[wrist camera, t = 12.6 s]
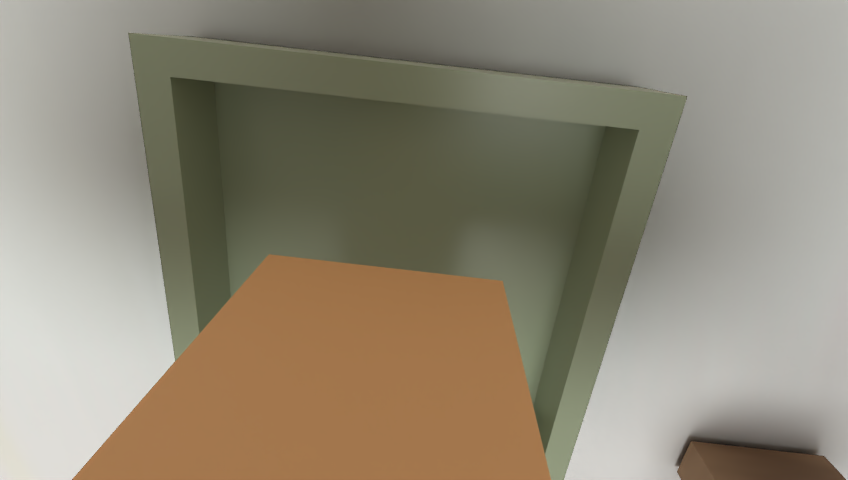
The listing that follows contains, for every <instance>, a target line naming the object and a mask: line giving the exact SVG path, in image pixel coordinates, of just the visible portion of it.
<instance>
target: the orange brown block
mask: <svg viewBox="0 0 848 480" xmlns="http://www.w3.org/2000/svg"><path fill="white" fill-rule="evenodd" d="M72 480H551V477H550V473H549V469H548V465H547V461H546V457H545V453H544V449H543V444H542V440H541V436H540V432H539V428H538V424H537V420H536V416H535V412H534V408H533V403H532V399H531V395H530V391H529V387H528V383H527V379H526V375H525V371H524V366H523V362H522V358H521V354H520V350H519V346H518V342H517V338H516V334H515V330H514V325H513V321H512V317H511V313H510V309H509V305H508V301H507V297H506V293H505V289H504V284H503V281H499V280H491V279H482V278H473V277H464V276H455V275H447V274H438V273H429V272H420V271H412V270H403V269H394V268H385V267H376V266H368V265H359V264H350V263H341V262H333V261H324V260H315V259H306V258H297V257H289V256H280V255H271V254H269V255H268V256H267V257H266V258H265V259H264V260H263V261H262V263H261V264H260V265H259V266H258V267H257V268H256V269H255V271H254V272H253V273H252V274H251V275H250V276H249V278H248V279H247V280H246V281H245V282H244V283H243V284H242V286H241V287H240V288H239V289H238V290H237V291H236V292H235V294H234V295H233V296H232V297H231V298H230V299H229V300H228V302H227V303H226V304H225V305H224V306H223V307H222V308H221V310H220V311H219V312H218V313H217V314H216V315H215V316H214V318H213V319H212V320H211V321H210V322H209V323H208V324H207V326H206V327H205V328H204V329H203V330H202V331H201V333H200V334H199V335H198V336H197V337H196V338H195V339H194V341H193V342H192V343H191V344H190V345H189V346H188V347H187V349H186V350H185V351H184V352H183V353H182V354H181V355H180V357H179V358H178V359H177V360H176V361H175V362H174V363H173V365H172V366H171V367H170V368H169V369H168V370H167V371H166V373H165V374H164V375H163V376H162V377H161V378H160V379H159V381H158V382H157V383H156V384H155V385H154V386H153V387H152V389H151V390H150V391H149V392H148V393H147V394H146V396H145V397H144V398H143V399H142V400H141V401H140V402H139V404H138V405H137V406H136V407H135V408H134V409H133V410H132V412H131V413H130V414H129V415H128V416H127V417H126V418H125V420H124V421H123V422H122V423H121V424H120V425H119V426H118V428H117V429H116V430H115V431H114V432H113V433H112V434H111V436H110V437H109V438H108V439H107V440H106V441H105V442H104V444H103V445H102V446H101V447H100V448H99V449H98V451H97V452H96V453H95V454H94V455H93V456H92V457H91V459H90V460H89V461H88V462H87V463H86V464H85V465H84V467H83V468H82V469H81V470H80V471H79V472H78V473H77V475H76V476H75V477H74V478H73V479H72Z"/></svg>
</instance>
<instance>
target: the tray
mask: <svg viewBox="0 0 848 480" xmlns="http://www.w3.org/2000/svg"><path fill="white" fill-rule="evenodd" d="M128 34H129V41H130V48H131V55H132V62H133V69H134V76H135V83H136V90H137V97H138V104H139V111H140V118H141V125H142V132H143V139H144V146H145V153H146V160H147V167H148V174H149V181H150V188H151V195H152V202H153V209H154V216H155V223H156V230H157V237H158V244H159V251H160V258H161V265H162V272H163V279H164V286H165V293H166V300H167V307H168V314H169V321H170V328H171V335H172V342H173V349H174V356H175V361H176V360H177V359H178V358H179V357H180V355H181V354H182V353H183V352H184V351H185V350H186V349H187V347H188V346H189V345H190V344H191V343H192V342H193V341H194V339H195V338H196V337H197V336H198V335H199V334H200V333H201V331H202V330H203V329H204V328H205V327H206V326H207V324H208V323H209V322H210V321H211V320H212V319H213V318H214V316H215V315H216V314H217V313H218V312H219V311H220V310H221V308H222V307H223V306H224V305H225V304H226V303H227V302H228V300H229V299H230V298H231V297H232V296H233V295H234V294H235V292H236V291H237V290H238V289H239V288H240V287H241V286H242V284H243V283H244V282H245V281H246V280H247V279H248V278H249V276H250V275H251V274H252V273H253V272H254V271H255V269H256V268H257V267H258V266H259V265H260V264H261V263H262V261H263V260H264V259H265V258H266V257H267V256H268V255H269V254H271V255H280V256H289V257H297V258H306V259H315V260H324V261H333V262H341V263H350V264H359V265H368V266H376V267H385V268H394V269H403V270H412V271H420V272H429V273H438V274H447V275H455V276H464V277H473V278H482V279H491V280H499V281H503V284H504V289H505V293H506V297H507V301H508V305H509V309H510V313H511V317H512V321H513V325H514V330H515V334H516V338H517V342H518V346H519V350H520V354H521V358H522V362H523V366H524V371H525V375H526V379H527V383H528V387H529V391H530V395H531V399H532V403H533V408H534V412H535V416H536V420H537V424H538V428H539V432H540V436H541V440H542V444H543V449H544V453H545V457H546V461H547V465H548V469H549V473H550V477H551V480H564V477H565V474H566V471H567V468H568V465H569V462H570V459H571V455H572V452H573V449H574V446H575V443H576V440H577V437H578V434H579V431H580V428H581V424H582V421H583V418H584V415H585V412H586V409H587V406H588V403H589V400H590V397H591V393H592V390H593V387H594V384H595V381H596V378H597V375H598V372H599V369H600V366H601V362H602V359H603V356H604V353H605V350H606V347H607V344H608V341H609V338H610V335H611V331H612V328H613V325H614V322H615V319H616V316H617V313H618V310H619V307H620V304H621V300H622V297H623V294H624V291H625V288H626V285H627V282H628V279H629V276H630V273H631V269H632V266H633V263H634V260H635V257H636V254H637V251H638V248H639V245H640V242H641V238H642V235H643V232H644V229H645V226H646V223H647V220H648V217H649V214H650V211H651V207H652V204H653V201H654V198H655V195H656V192H657V189H658V186H659V183H660V180H661V176H662V173H663V170H664V167H665V164H666V161H667V158H668V155H669V152H670V149H671V145H672V142H673V139H674V136H675V133H676V130H677V127H678V124H679V121H680V118H681V114H682V111H683V108H684V105H685V102H686V99H687V96H683V95H678V94H673V93H667V92H662V91H657V90H651V89H646V88H641V87H633V86H625V85H616V84H607V83H598V82H589V81H581V80H572V79H563V78H554V77H545V76H536V75H528V74H519V73H510V72H501V71H492V70H484V69H475V68H466V67H457V66H448V65H440V64H431V63H422V62H413V61H404V60H395V59H387V58H378V57H369V56H360V55H351V54H343V53H334V52H325V51H316V50H307V49H299V48H290V47H281V46H272V45H263V44H254V43H246V42H237V41H228V40H219V39H210V38H202V37H193V36H176V35H158V34H139V33H128Z"/></svg>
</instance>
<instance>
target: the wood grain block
mask: <svg viewBox="0 0 848 480" xmlns="http://www.w3.org/2000/svg"><path fill="white" fill-rule="evenodd" d="M677 473H678V474H679V476H680V478H681V480H846V479H845V478H844V477H843V476H842V475H841V474H840V473H839V471H838V470H837V469H836V468H835V467H834V466H833V465H832V464H831V463H830V462H829V461H828V460H827V459H826V458H825V457H824V456H819V455H810V454H801V453H792V452H783V451H774V450H765V449H756V448H748V447H739V446H730V445H721V444H712V443H703V442H694V441H691V442H690V444H689V447H688V449H687V451H686V453H685V455H684V457H683V460H682V462H681V464H680V466H679V468H678V471H677Z"/></svg>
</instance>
